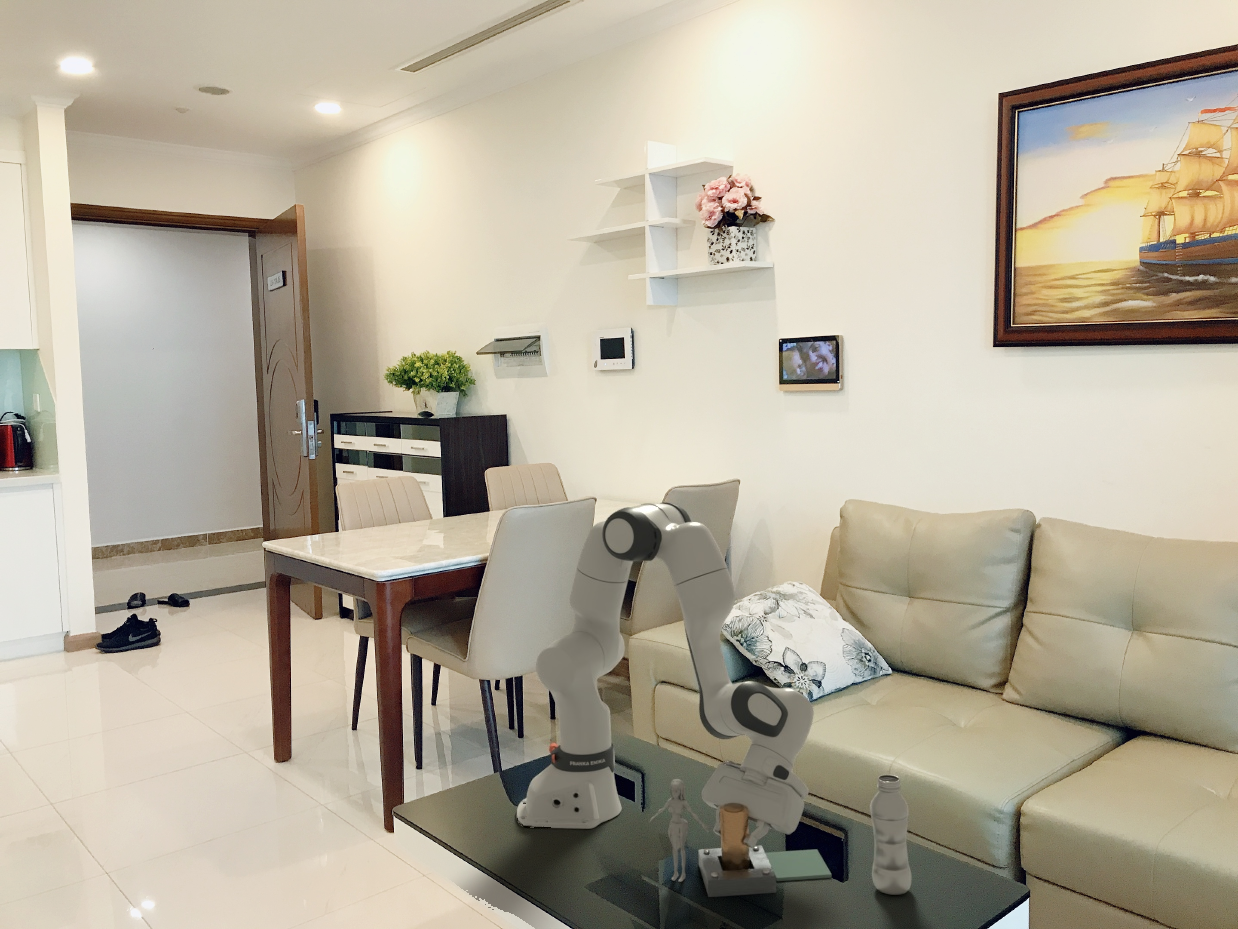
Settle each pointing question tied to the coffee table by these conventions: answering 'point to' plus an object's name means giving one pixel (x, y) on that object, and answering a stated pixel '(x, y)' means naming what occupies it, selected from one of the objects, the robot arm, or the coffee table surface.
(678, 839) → the human figurine
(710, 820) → the coffee table surface
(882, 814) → the plastic bottle
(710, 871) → the housing
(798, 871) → the mat
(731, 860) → the copper plug
